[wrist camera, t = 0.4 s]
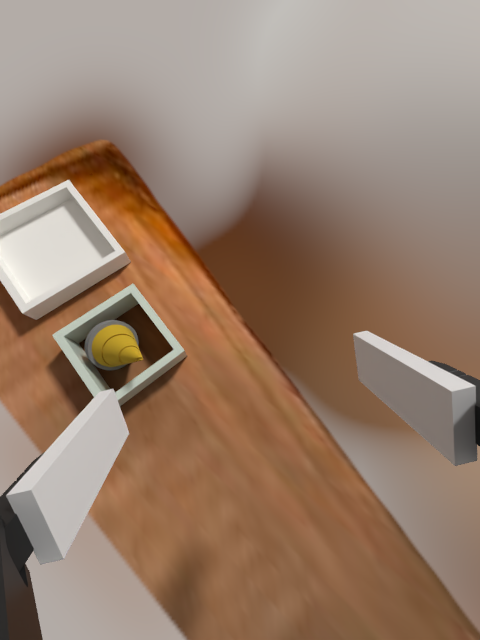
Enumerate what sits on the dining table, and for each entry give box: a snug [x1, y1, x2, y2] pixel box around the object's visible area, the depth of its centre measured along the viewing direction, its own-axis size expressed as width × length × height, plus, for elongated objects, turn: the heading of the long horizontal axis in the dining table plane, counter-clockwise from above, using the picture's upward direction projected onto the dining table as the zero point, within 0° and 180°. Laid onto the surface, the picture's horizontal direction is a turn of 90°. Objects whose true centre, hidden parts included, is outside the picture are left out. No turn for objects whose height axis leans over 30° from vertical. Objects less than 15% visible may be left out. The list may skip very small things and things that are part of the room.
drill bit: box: [85, 320, 143, 370], centre depth 29 cm, size 5×5×10 cm
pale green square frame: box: [52, 284, 187, 406], centre depth 31 cm, size 10×10×4 cm
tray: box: [0, 180, 131, 320], centre depth 34 cm, size 13×13×2 cm
